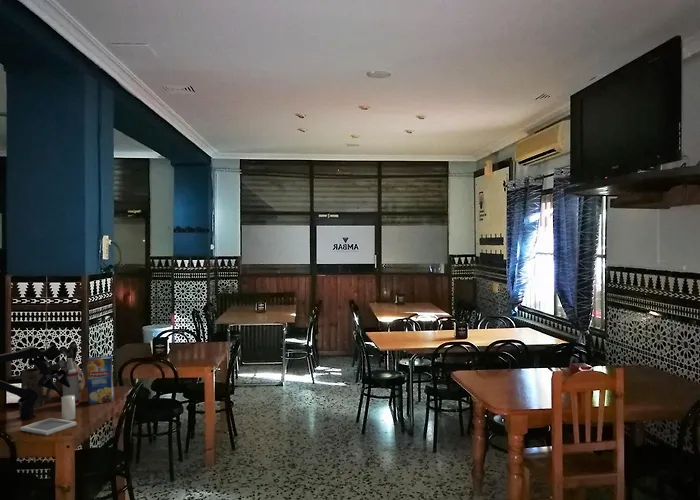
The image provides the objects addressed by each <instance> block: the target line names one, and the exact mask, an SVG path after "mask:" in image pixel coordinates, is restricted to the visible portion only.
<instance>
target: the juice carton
mask: <svg viewBox="0 0 700 500" xmlns="http://www.w3.org/2000/svg"><path fill="white" fill-rule="evenodd" d="M86 361H87V362H86V363H87V365H86V367H87V369H86V371H87V372H86V373H87V397H88V398H87V400H88V403H87V404H89V405H91V404H104V403H103V402H105V403H112V402H113V400H114V374H113V373H114V372H113V371H114V370H113V355H103V356H89V357H88V358H87V359H86Z"/></svg>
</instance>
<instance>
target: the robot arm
mask: <svg viewBox="0 0 700 500" xmlns="http://www.w3.org/2000/svg"><path fill="white" fill-rule="evenodd" d="M61 351H62V350H60V349H59V348H58V347H57V346H56V345H55V344H50V346H48V347H47V348H46V349H44V350H42V349H39V348H38V347H36V346H33V345H29V346H27V347H23V348H21V349H19V350H17V351H12V352H8V353H7V352H5V353H1V354H0V364H1V363H7V362H11V361H18V360H28V367H29V368H31V367H32V366H34V368H37V369H38V370H39V371H40V372H39V374H42V375H43V376H42V377H41V378H40V379H39V380H38V381H37V384H38V385H39V387H40V386H42V387H44V389H47V388H48V389H51V391H55V392H56V391H57V392H59V389H58V387H57V386H56V385H55V381H54V379H55V380H56V379H57V380H58V382H60V383H61V384H63V385H65V386H66V387H68V388H69V387H70V384H69V381H68V378H67V374H68V372H69V370H68V369H67V368H64V369H61V368H62V367H65V363H66V361H64V360H63V359H60V360H58V361H57V362H55V363H50V362H49V361H51V362H53V361H54V360H55V359H57V358H59V357H60V356H61V355H63V353H62V352H61ZM60 369H61V370H60ZM0 390H2V391H4V392H7V393H10V394H13V395H15V396H17V397H19V399H17V403H18V409H19V410H18V414H19V416H17V417H16V419H18V420H22V421H25V420H28V419H31V418H36V417H37V415H35V414H34V412H35V411H34V408H33V406H34V403H35V401H36V400H37V398H38V394H37V393H36V392H35V390H34V389H32V388H28V387H26V386H24V388H22V387H19V386H16V385H14V384H11V383H8V382H6V381H3V380H0ZM57 392H56V393H57Z"/></svg>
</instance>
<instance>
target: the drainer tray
mask: <svg viewBox="0 0 700 500" xmlns="http://www.w3.org/2000/svg"><path fill="white" fill-rule="evenodd" d="M74 426H77V421H76V420H75V421H73V420H62V418H56V417H55V418H54V417H49V418H45V419H43V420H39V421H36V422H32V423H30V424H27V425H22V426H20V428H19V429H20V430H19V431H22V432H25V431H26V433H32V434H36V435H42V436H48V435H52V434H55V433H57V432H60V431H63V430H66V429H70V428H73V427H74Z"/></svg>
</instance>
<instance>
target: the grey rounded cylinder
mask: <svg viewBox="0 0 700 500" xmlns="http://www.w3.org/2000/svg"><path fill="white" fill-rule="evenodd" d="M60 400H61V419H62V420H68V421H73V420H75V419H76V405H75V395H66V396H63V397H61V399H60Z"/></svg>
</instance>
